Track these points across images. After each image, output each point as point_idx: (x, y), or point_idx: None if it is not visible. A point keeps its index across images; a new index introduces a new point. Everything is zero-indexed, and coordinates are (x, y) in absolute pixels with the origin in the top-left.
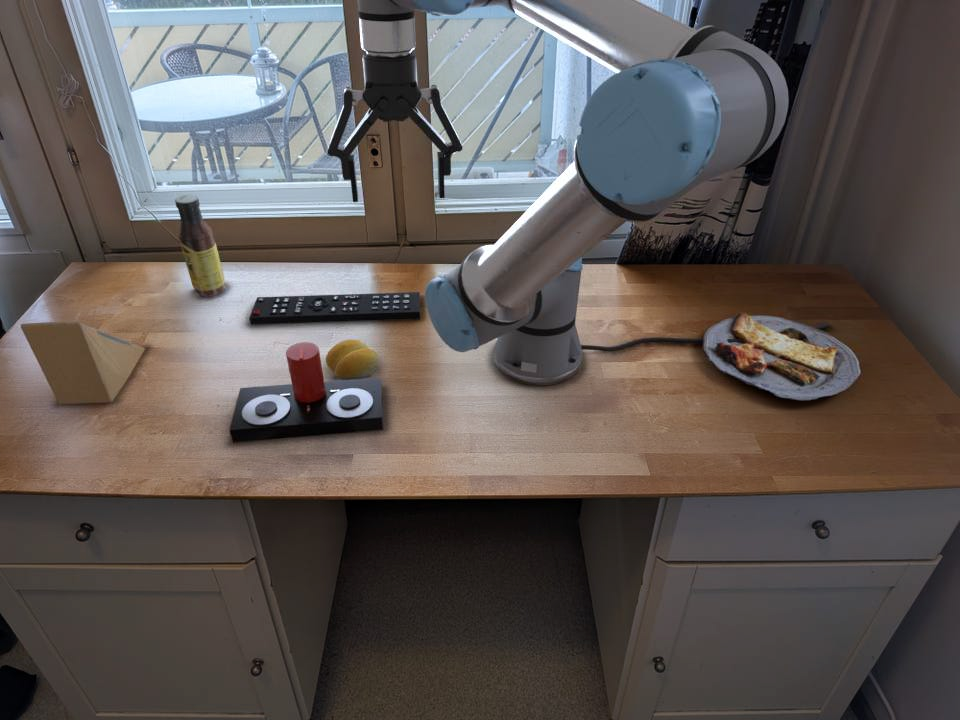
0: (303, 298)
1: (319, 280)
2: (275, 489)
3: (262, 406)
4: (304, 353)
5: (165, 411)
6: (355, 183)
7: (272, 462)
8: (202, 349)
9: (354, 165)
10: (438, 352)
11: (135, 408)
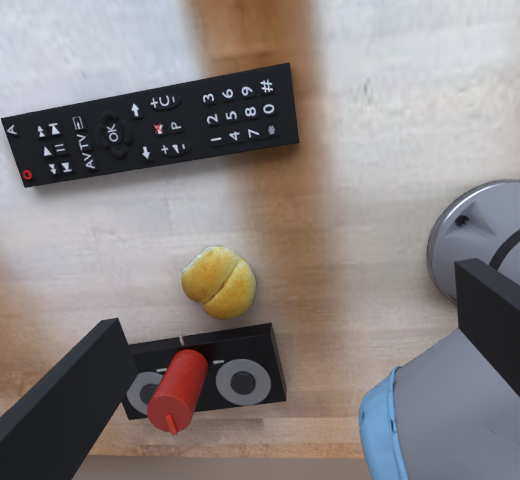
0: (80, 119)
1: (74, 9)
2: (202, 456)
3: (146, 394)
4: (173, 419)
5: (42, 365)
6: (100, 430)
7: (186, 428)
8: (6, 252)
9: (38, 463)
10: (338, 238)
11: (8, 362)
